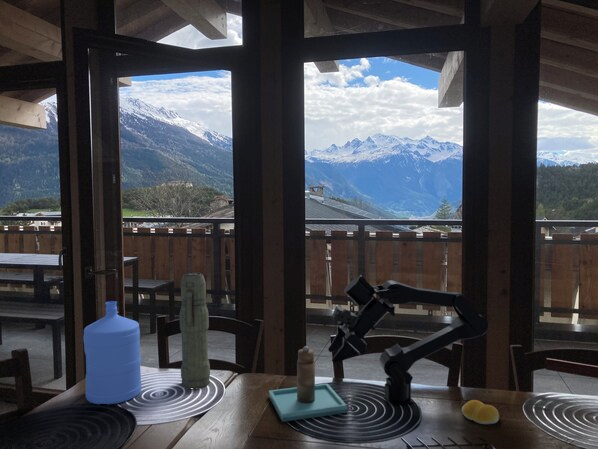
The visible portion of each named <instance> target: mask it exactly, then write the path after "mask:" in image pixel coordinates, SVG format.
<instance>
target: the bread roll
mask: <svg viewBox="0 0 598 449" xmlns="http://www.w3.org/2000/svg"><path fill="white" fill-rule="evenodd" d="M461 413H462V414H463V416H464V417H465V418H466V419H468V420H470V421H472V420H473V421H474V422H475V423H478V424H481V425H493V424H496V423H498V421H499V420H500V413H499V411H498V409H497V408H496V407H495V406H493V405H490V404H485V403H483V402H482V401H480V400H477V399H471V400H469V401H467V402H466V403H465V404H464V405H463V406H462V407H461Z"/></svg>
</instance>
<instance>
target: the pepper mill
mask: <svg viewBox="0 0 598 449" xmlns="http://www.w3.org/2000/svg"><path fill="white" fill-rule="evenodd" d="M297 352H298V353H297V361H296V372H297V373H296V385H297V386H296V387H297V401H298V402H300V403H312V402H314V401H315V385H316V373H315V372H316V364H315V363H316V361H315V354H314V353H315V351H314V350H313V349H311V348H310V347H309V346H307V345H305V346H303V347H302V348H301V349H299V350H298V351H297Z"/></svg>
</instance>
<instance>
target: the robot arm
mask: <svg viewBox="0 0 598 449" xmlns="http://www.w3.org/2000/svg"><path fill="white" fill-rule="evenodd" d="M343 292H344V294H345V295H347V296H348V297H349V298H350V300H352V302H354V303H355V304H356V305H357V306H364V307H362V309H360V310H356V311H355V312H352V311H351V310H348V309H347V308H344V307H343V308H342V307H340V306H337V305H336V306H335V308H334V311H333V312H332V315H331V316H332V318H333V320H335V321H336V323H337V324H336V334H335V336H334V338H333V340H332V342H331V343H330V346H329V347H328V348H327V350H328V351H329V353H332V352H334V351H336V350H337V352H336V353H335V354H334V355H333V358H332V359H331V361H332V362H333V363H334V364H336V363H339V362H341V361H344V360H347V359H350V358H352V357H357V356H361V355H362V356H363V355H364V354H365V353H366V352H367V351H368V344H367V343H366V336H367V335H368V334H369V333H370V331H371V330H372V332H373V331H375V330H376V329H377V328H376V327H375V326H376V325H377V324H378V323H379V322H380V321H381V320H382V319H383V318H384V317H385V316H386V315H387V314H390V315H391V317H393V318H394V317H396V313H395V310H396V307H395V306H394V305H405V304H410V303H421V304H422V303H423V304H429V305H438V306H445V307H452V308H453V310H454V312H455V314H456V315H457V317H455V318H454V320H453V321H452V322H451V324H450V325H448V326H446V327H444V328H442V329H441V330H439V331H436V332H434V333H432V334H430V335H428V336H426V337H423V338H422V339H420V340H418V341H416V342H414V343H412V344H410V345H408V346H405V347H401V346H400V345H399V344H398V343H396V344H394V345H392V346H390V347H389V348H384V352H382V353H381V354H380V357H379V362H378V363H379V364H380V367H381V369H382V370H383V372H384V373H385V374H386V376H388V377H386V378H385V383H384V395H383V398H385V399H386V400H387V401H388V402H389V403H390V404H391V405H392V406H400V405H408V404H413V403H414V402H415V400H414V399H412V380H413V376H412V374H411V373H410V372H409V370H410V369H411V367H413V365H414V364H415V363H416V362H418V361H419V360H422V359H424V358H426V357H429V356H430V355H432V354H433V353H436V352H438V351H440V350H442V349H444V348H446V347H448V346H450V345H452V344H454V343H455V342H458V341H460V340H469V339H474V338H478V337H480V336H484V335H485V334H486V333H487V332H488V328H489V322H488V320H487V319H486V318H485V316H482V315H481V314H480V313H478V311H477V310H476V309H475V308H474V307H473V306H472V305H471V304H470V303H469V301H468V300H467V298H466V297H465V295H463V294H461V293H460V292H457V291H445V290H438V289H430V288H421V287H414V286H411V285H408V284H405V283H402V282H399V281H396V280H391V279H389V280H386V281H385V282H383V284H379V285H378V284H377V285H374V286H373V285H371V284H369V282H368V281H367V280H366V279H365V276H364V277H363V276H362V275H361V274H359V276H358V277H356V278H354V279H353V280H351V281H350V282H349V283H348V284H347V285H346V286H345V288H344V290H343ZM375 295H376V296H377V297H378V298H379V299H378V298H377V297H376V296H375ZM386 300H387V302H386ZM388 303H390V304H392V305H390V304H388Z"/></svg>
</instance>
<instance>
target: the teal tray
mask: <svg viewBox="0 0 598 449" xmlns="http://www.w3.org/2000/svg"><path fill="white" fill-rule="evenodd" d="M268 398H269V399H270V401H271V402H270V403H271V404H272V405H273V407H274V409H275V411H276V413H277V415H278V416H279V419H280V420H281V422H282V423H283V422H291V421H298V420H305V419H311V418H312V419H313V418H320V417H325V416H332V415H339V414H346V413H348V406H347V404H346V402H344V401H343V399H342V398H341V397H340V396H339V395H338V393H336V391H335V390H334V389H333V388H332V387H331V386H330V384H328V383H322V384H321V383H320V384H315V401H314V402H312V403H300V402H298V401H297V386H296V387H288V388H287V387H286V388H279V389H271V390H268Z"/></svg>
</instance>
